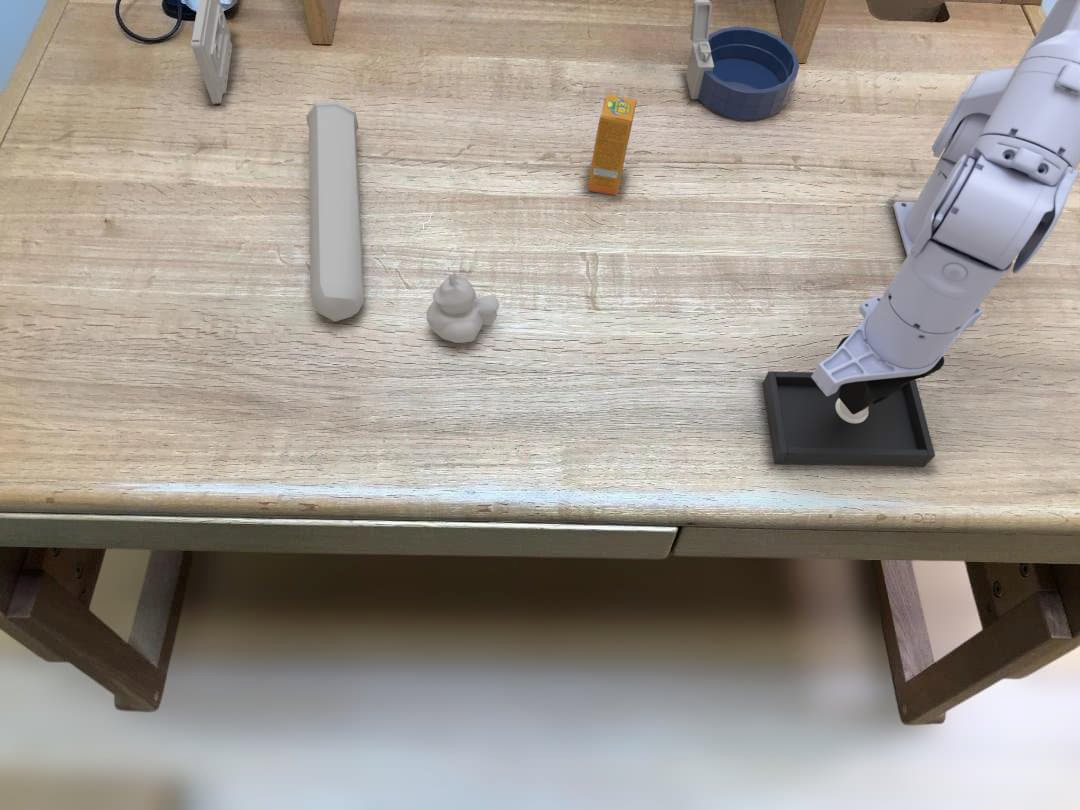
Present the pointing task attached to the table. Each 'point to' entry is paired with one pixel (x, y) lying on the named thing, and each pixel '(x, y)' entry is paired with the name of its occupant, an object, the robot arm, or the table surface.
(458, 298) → the rubber duck
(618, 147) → the supplement box
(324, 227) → the tube
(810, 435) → the tray
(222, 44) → the cassette
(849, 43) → the table surface
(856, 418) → the chess pawn
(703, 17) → the lighter
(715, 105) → the bowl
